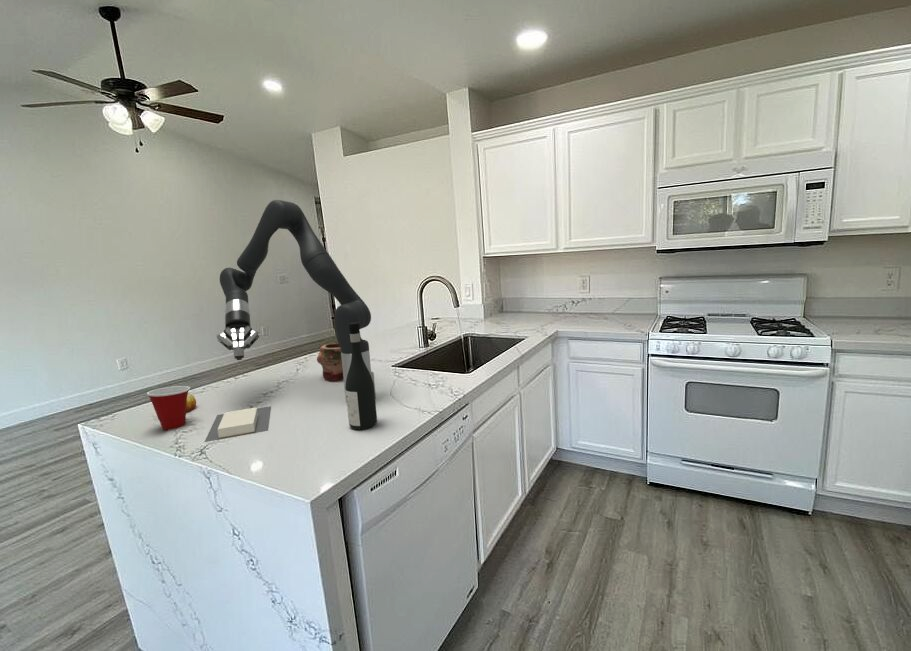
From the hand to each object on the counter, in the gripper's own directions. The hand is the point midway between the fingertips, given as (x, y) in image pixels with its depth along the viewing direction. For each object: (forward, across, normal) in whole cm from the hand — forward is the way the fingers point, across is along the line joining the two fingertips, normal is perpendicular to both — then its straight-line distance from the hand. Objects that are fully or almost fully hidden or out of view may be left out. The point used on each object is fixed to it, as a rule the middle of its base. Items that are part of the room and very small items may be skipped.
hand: (239, 358), depth 136 cm
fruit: (+5, -20, +22) cm, 31 cm away
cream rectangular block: (+17, 0, +6) cm, 18 cm away
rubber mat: (+20, 0, +5) cm, 21 cm away
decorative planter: (-3, +34, +28) cm, 44 cm away
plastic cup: (+15, -19, +11) cm, 27 cm away
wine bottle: (+34, +32, -11) cm, 48 cm away
